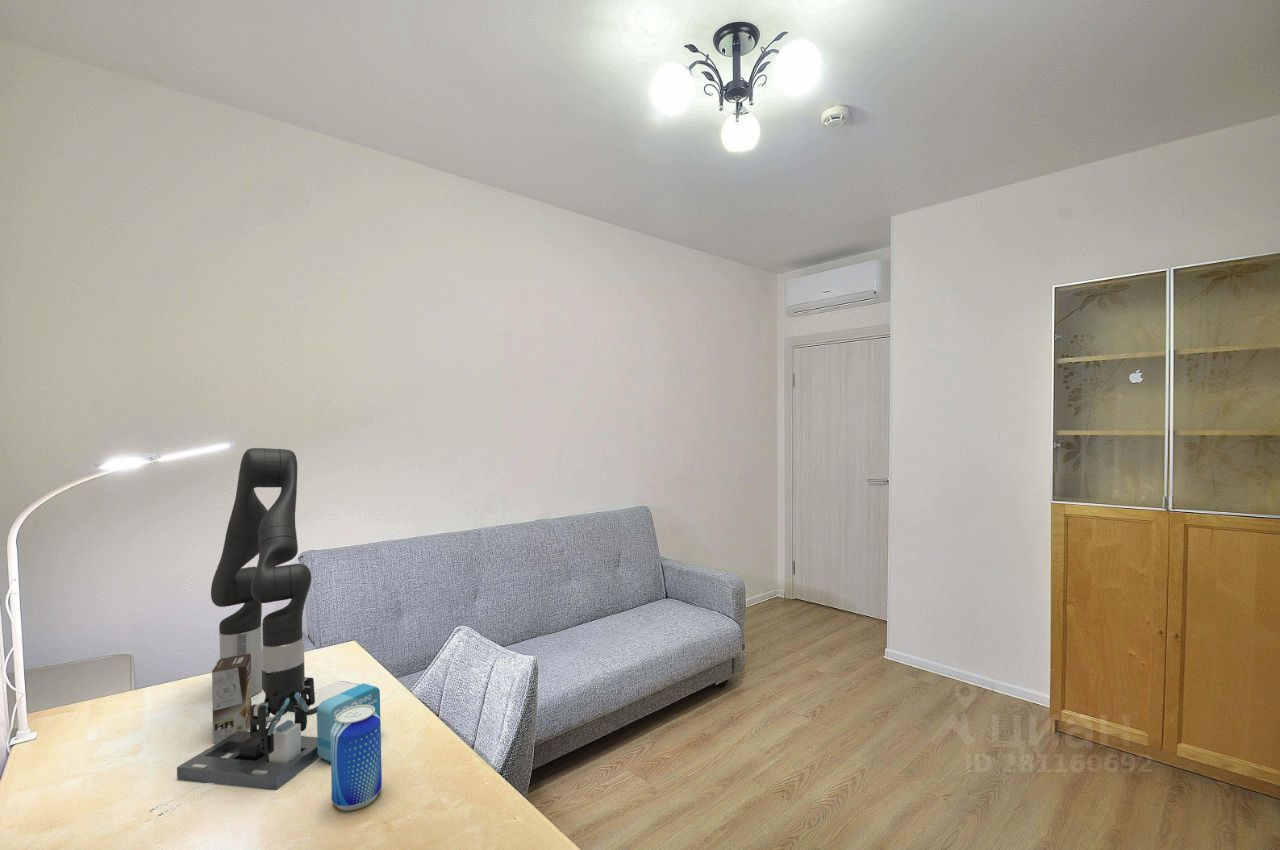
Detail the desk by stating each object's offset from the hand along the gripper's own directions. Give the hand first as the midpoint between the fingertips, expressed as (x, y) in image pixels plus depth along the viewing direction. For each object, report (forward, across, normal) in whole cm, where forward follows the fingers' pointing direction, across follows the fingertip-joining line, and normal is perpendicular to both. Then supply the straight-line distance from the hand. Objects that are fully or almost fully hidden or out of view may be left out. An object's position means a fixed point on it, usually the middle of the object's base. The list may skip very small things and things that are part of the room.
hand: (284, 741), depth 117 cm
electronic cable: (+6, +12, -11) cm, 17 cm away
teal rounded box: (+6, -8, +9) cm, 13 cm away
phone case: (+6, -28, -14) cm, 32 cm away
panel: (+5, 0, -7) cm, 9 cm away
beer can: (+6, +7, +22) cm, 24 cm away
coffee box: (+6, -11, -24) cm, 27 cm away
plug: (+5, 0, 0) cm, 5 cm away
